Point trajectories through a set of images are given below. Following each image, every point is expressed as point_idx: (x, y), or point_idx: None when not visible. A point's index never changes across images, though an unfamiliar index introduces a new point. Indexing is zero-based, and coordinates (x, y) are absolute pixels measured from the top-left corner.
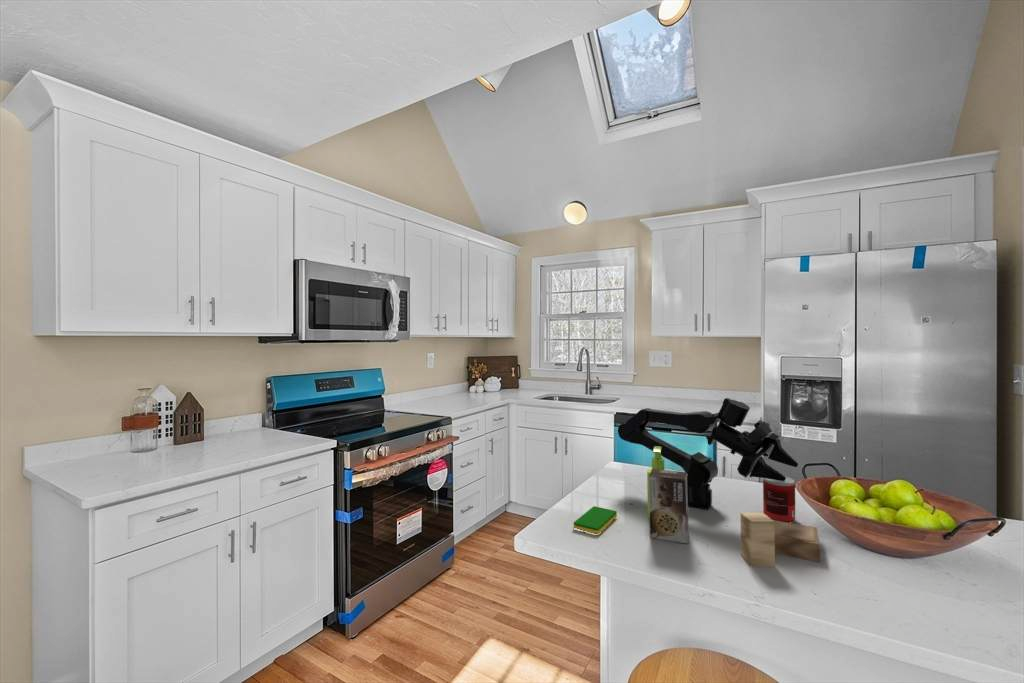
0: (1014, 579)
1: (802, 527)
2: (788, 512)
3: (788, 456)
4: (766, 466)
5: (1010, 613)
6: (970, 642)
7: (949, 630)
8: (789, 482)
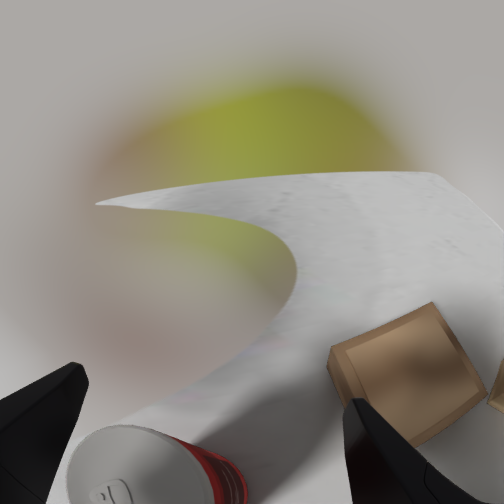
0: (233, 180)
1: (373, 368)
2: (222, 459)
3: (26, 403)
4: (456, 497)
5: (335, 174)
6: (430, 186)
7: (429, 195)
8: (136, 447)
